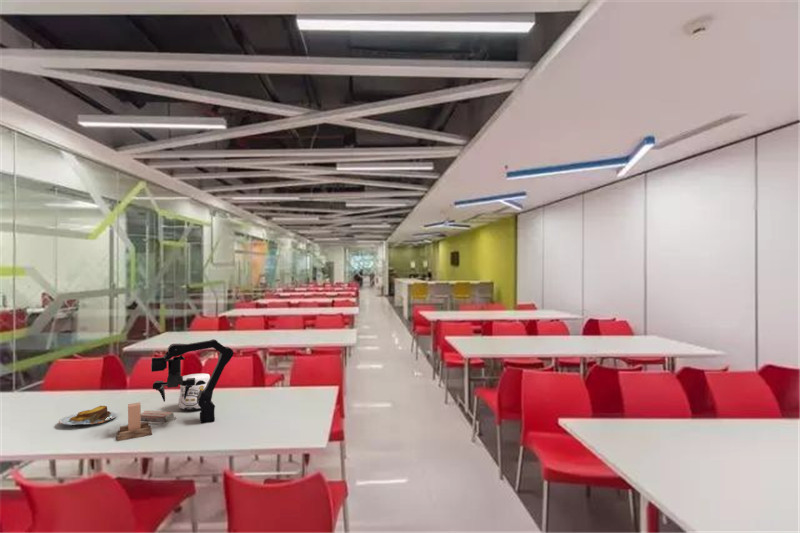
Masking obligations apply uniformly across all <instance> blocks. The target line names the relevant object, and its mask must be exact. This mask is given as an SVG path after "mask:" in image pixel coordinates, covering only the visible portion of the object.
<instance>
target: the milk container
mask: <svg viewBox="0 0 800 533" xmlns="http://www.w3.org/2000/svg"><path fill="white" fill-rule="evenodd" d="M182 376H183V381H184V380H187V378H195V385H193V386H192V387H190V388H189V390H188V393H187V396H186V399H185V400H184V395H185V387H186V384H182V385H179V387H180V391H179V397H178V406H179V408H180V410H183V411H198V410H201V409H202V408H201V407H200V406H199V405H198V403H197V396H198V394H199V391H200V390H202V391H203V390H204V389H205V387H206V385H207V383H208V381H209V379H210V377H211V375H210V374H209V373H203V372H202V373H191V374H187V375H186V374H185V375H182ZM211 401H212V402H213V398H212V399H211Z"/></svg>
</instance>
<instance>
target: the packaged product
mask: <svg viewBox="0 0 800 533" xmlns="http://www.w3.org/2000/svg"><path fill="white" fill-rule="evenodd" d="M174 413H175V412H173V411H172V412H171V411H162V410H159V411H158V410H144V411H143V412H142V413H141V423H145V422H148V425H160V426H163V425H167V424H168V423H170V422H173V421H175V420H176V419H177V416H174V415H175V414H174Z"/></svg>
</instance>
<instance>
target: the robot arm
mask: <svg viewBox="0 0 800 533" xmlns="http://www.w3.org/2000/svg"><path fill="white" fill-rule="evenodd" d="M211 348H212V349H215V351H217V352H219V354H218V358H217V363H216V365H215V367H214V369H213V371H212V372H211V375H210V379H209V381H208V383H207V385H206V387H205V389H204V390H203V391H202V390H200V391H199V394H198V396H197V403H198V405H199V406H200V407H201V408H202V409H200V412H199V422H200V424H204V423H205V424H206V423H211V422H212V423H213V422H215V421H216V419H215V418H216V417H215V414H216V413H215V409H216V408H215V407H216V406H215V403H214V402H213V395H214V394H213V392H214V390H215V388H216V385H217V384H218V381H219V379H220V378H221V375H222V373H223V371H224V369H225V367H226V365H227V364H228V363H229V362H230V361H231V359H232V358H233V356H234V354H235V353H234V350H233V349H232V348H231V347H229V346H224V345H222V343H220V342H218V340H216V339H210V340H203V341H197V342H190V343H171V344H169V346H168V347H167V351H166V352H165V354H164V355H163V356H162V357H160V356H159V357H151V364H150V371H151V373H154V372H163V371H165V370H166V369H167V372H168V373H167V379H166V381H164V380H155V381H154V382H153V383H152V389H153V390H156V391H158V392H159V394H160V395H161V398H162V400H163V402H164V403H165V402H166V393H165V387H167V388H168V389H171V388H177V387H179V386H180V385H182V384H186V387H185V395H184V400H185V399H186V396H187V393H188V390H189V388H190V387H192V386H193V385H195V378H187V380H184V381H183V376H184V375H182V366H181V365H182V361H184V360H186V358H185V357H184V356H183V355H184V354H186V353H190V352H194V351H202V350H207V349H211ZM211 399H212V401H211Z"/></svg>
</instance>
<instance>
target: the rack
mask: <svg viewBox="0 0 800 533" xmlns="http://www.w3.org/2000/svg"><path fill="white" fill-rule="evenodd" d="M151 425H152V424H148V422H145V423H141V429H136V430H130V431H128V425H122V426H119V430H117V432H116V441H117V442H120V441H127V440H131V439H139V438H143V437H149V436H152V435H153V431H152V426H151Z"/></svg>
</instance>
